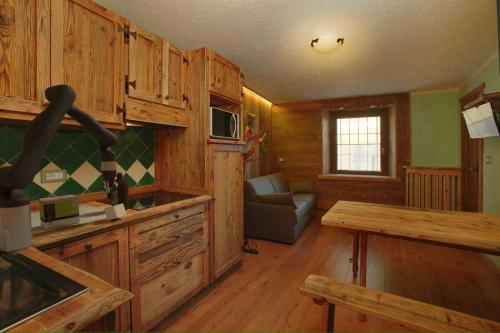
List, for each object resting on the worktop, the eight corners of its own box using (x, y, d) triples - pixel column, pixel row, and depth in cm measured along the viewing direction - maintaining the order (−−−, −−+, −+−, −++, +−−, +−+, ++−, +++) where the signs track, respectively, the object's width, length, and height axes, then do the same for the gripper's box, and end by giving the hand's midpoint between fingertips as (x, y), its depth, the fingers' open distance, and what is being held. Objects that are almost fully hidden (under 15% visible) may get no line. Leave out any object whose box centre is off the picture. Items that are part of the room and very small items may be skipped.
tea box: (74, 219, 138) (73, 194, 137) (80, 223, 132) (78, 196, 131) (40, 225, 127) (38, 198, 126) (44, 229, 120) (42, 200, 119)
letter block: (103, 208, 136) (107, 220, 136) (113, 205, 134) (117, 217, 134) (113, 206, 143) (117, 217, 143) (122, 202, 141) (126, 214, 141)
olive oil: (123, 207, 169) (122, 171, 168) (132, 209, 164) (131, 172, 162) (108, 210, 160) (107, 172, 159) (117, 212, 155) (116, 173, 153)
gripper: (94, 169, 138) (95, 199, 139) (111, 170, 132) (111, 201, 133) (107, 168, 144) (108, 197, 145) (123, 169, 139) (123, 198, 140)
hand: (109, 199), depth 139 cm, fingers closed
